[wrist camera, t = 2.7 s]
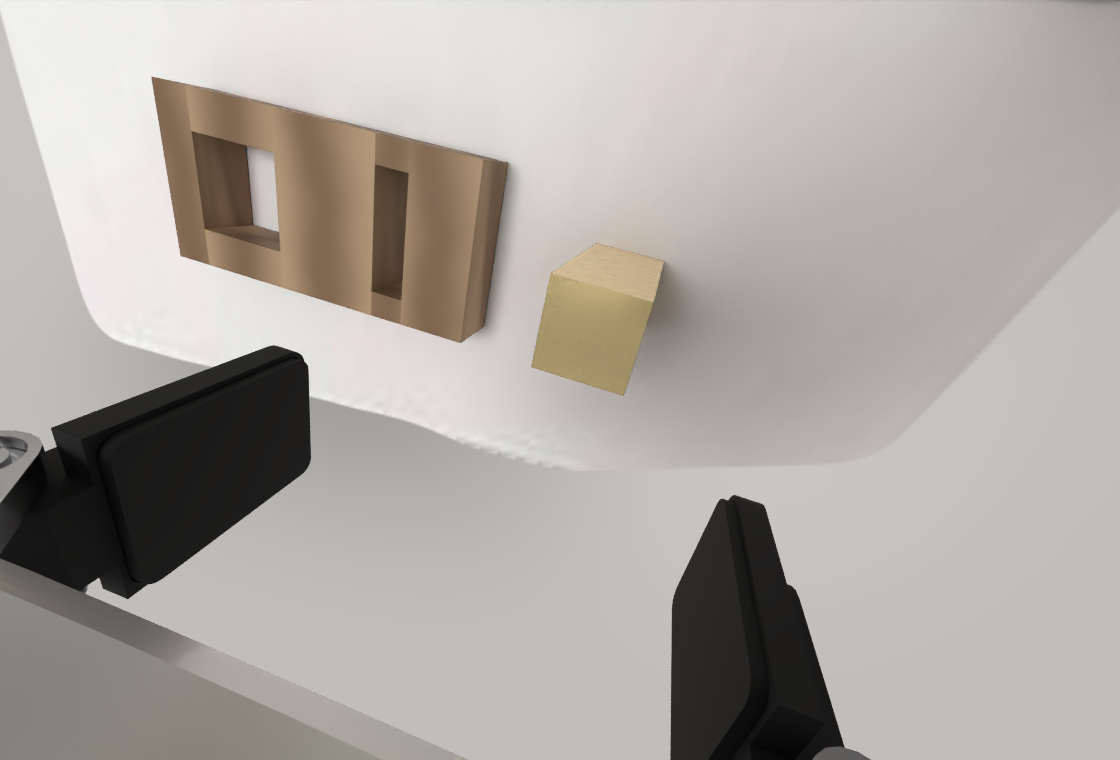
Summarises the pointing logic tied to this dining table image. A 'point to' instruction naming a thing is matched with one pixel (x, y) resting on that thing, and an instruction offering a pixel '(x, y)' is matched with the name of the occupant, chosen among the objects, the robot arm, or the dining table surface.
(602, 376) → the square bit
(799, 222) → the dining table surface
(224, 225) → the block
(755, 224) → the dining table surface
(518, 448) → the dining table surface
